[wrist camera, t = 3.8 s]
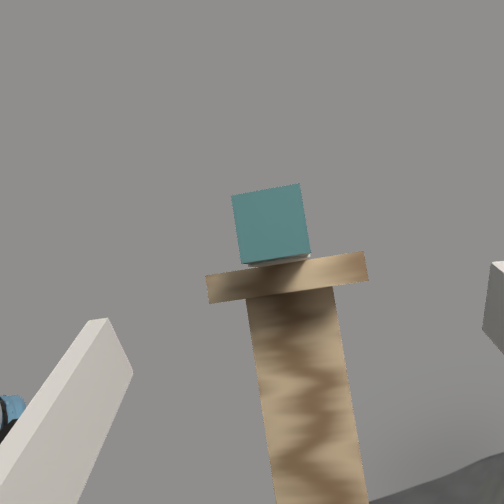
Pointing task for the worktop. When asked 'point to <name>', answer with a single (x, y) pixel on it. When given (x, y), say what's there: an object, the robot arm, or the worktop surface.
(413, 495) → the worktop surface
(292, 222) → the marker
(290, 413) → the stand
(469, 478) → the worktop surface
